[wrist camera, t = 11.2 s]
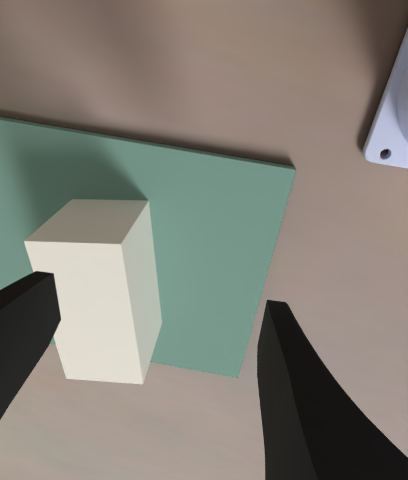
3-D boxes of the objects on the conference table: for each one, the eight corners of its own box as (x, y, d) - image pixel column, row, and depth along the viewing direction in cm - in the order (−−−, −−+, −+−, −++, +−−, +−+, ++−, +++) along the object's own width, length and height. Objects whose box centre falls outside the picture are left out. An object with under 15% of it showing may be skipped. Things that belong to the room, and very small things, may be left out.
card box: (161, 322, 24) (143, 384, 19) (98, 319, 24) (66, 378, 20) (148, 200, 20) (120, 244, 15) (72, 199, 20) (23, 241, 16)
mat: (294, 166, 18) (296, 169, 18) (238, 371, 26) (237, 378, 26) (-36, 110, 19) (-45, 112, 18) (5, 328, 27) (0, 334, 26)
